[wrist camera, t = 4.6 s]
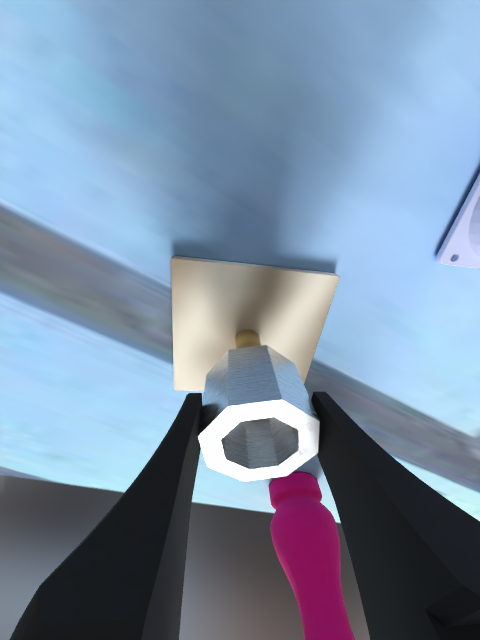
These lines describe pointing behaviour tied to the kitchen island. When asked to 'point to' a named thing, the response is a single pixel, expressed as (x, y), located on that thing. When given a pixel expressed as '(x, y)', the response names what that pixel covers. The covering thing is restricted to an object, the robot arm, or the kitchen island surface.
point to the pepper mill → (309, 555)
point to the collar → (256, 416)
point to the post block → (244, 313)
